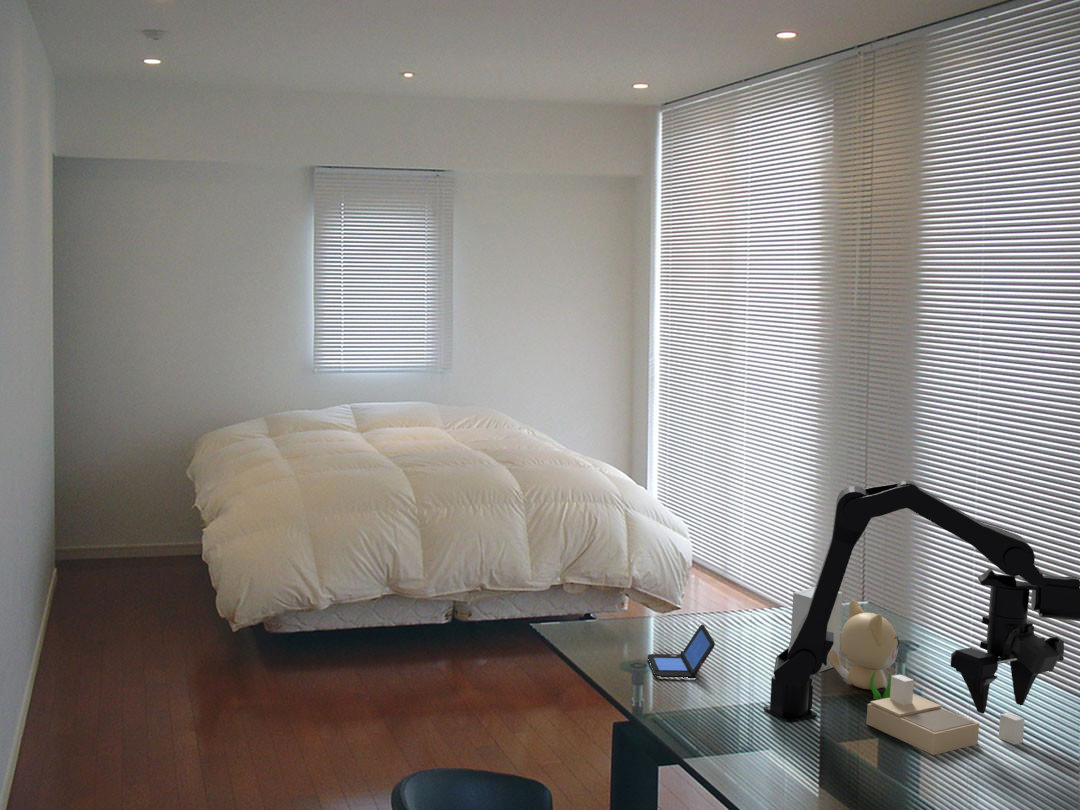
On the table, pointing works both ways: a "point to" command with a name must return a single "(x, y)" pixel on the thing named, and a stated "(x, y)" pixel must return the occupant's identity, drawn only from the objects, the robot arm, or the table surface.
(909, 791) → the table surface
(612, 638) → the table surface
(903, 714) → the flap far
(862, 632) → the kitten
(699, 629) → the handheld game console
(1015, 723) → the white block
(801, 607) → the skincare box
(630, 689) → the table surface
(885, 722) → the carton
